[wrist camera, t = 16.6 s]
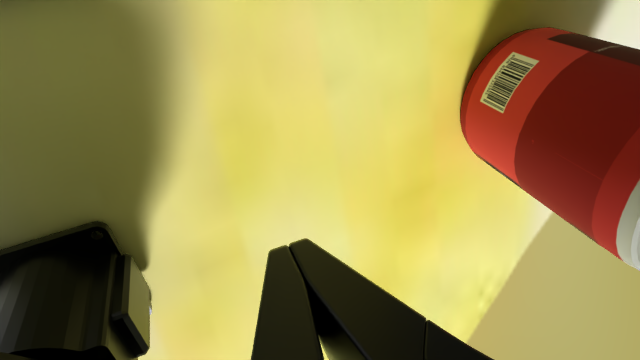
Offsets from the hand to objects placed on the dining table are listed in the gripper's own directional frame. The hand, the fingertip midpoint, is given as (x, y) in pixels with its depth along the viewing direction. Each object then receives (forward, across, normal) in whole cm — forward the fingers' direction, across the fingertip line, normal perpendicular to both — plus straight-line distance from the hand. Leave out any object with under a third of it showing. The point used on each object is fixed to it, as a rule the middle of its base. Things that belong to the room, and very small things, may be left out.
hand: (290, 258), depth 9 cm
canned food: (+12, -16, +5) cm, 21 cm away
